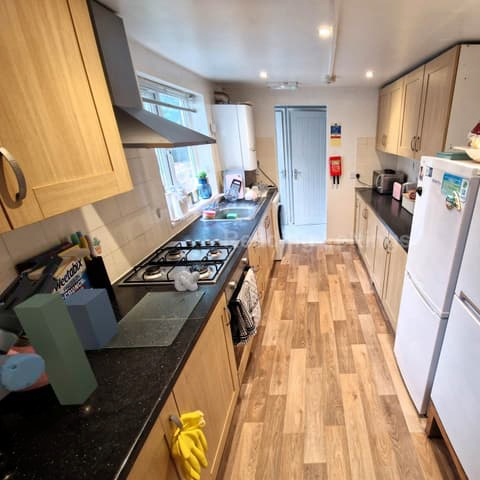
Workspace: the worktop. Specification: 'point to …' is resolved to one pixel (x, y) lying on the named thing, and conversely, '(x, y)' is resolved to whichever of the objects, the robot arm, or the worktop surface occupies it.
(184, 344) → the worktop surface
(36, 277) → the tan slab
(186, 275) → the white knot
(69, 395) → the green block
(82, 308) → the blue box
